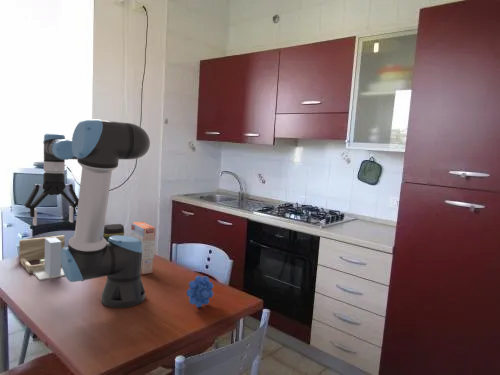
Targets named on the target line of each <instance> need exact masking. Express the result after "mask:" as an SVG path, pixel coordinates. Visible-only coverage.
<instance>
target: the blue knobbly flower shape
mask: <svg viewBox="0 0 500 375" xmlns="http://www.w3.org/2000/svg"><path fill="white" fill-rule="evenodd" d="M194 278H195V279H194V280H191V281H189V283H188V286H189V288H188V289H187V291H186V295H187V297H188V298H189V300H188V301H189V303H190V304H191V305H195V306H196V307H197V308H201V307H202V306H203V305H206V306H207V305H208V304H209V303H210V298H211V299H212V297H213V296H214V291H213V289H214V283H213V282H212V281H210V278H209V277H208V276H206V275H205V276H201V275H197V276H195V277H194Z"/></svg>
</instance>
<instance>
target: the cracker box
mask: <svg viewBox="0 0 500 375" xmlns="http://www.w3.org/2000/svg"><path fill="white" fill-rule="evenodd" d="M130 226H131V227H130V228H131V230H130V232H131V233H130V237H134V238H137V239H139V240H140V241H141V242H142V251H143V253H142V265H141V276H142V275H148V274H154V264H155V263H154V261H155V245H156V227H155V226H152V225H151V224H148V223H146V222H144V221H133V222H131V224H130Z"/></svg>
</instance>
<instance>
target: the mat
mask: <svg viewBox="0 0 500 375" xmlns="http://www.w3.org/2000/svg"><path fill="white" fill-rule="evenodd" d="M32 274H33V275H34V276H35V277H36V278H37V280H39V281H45V280H50V279H56V278H62V277H65V274H64V272H63V269H62V267H61V275H55V276H49V275H48V274H47V273H46V272H45V271H44V270H40V271H34V272H33V273H32Z"/></svg>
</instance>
